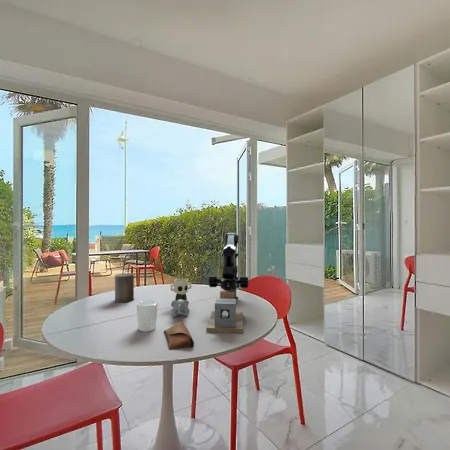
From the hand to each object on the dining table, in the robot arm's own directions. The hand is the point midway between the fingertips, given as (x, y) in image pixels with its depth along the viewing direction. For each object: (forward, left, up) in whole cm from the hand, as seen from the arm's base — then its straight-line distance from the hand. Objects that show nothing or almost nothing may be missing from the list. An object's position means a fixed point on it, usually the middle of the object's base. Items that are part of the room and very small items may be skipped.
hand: (227, 297), depth 127 cm
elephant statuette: (+16, -13, -8) cm, 22 cm away
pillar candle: (+21, -56, -8) cm, 61 cm away
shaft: (+9, +8, -6) cm, 14 cm away
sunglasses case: (+32, +5, -8) cm, 33 cm away
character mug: (+6, -26, -8) cm, 28 cm away
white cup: (+34, -11, -8) cm, 37 cm away
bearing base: (+8, +7, -8) cm, 13 cm away
